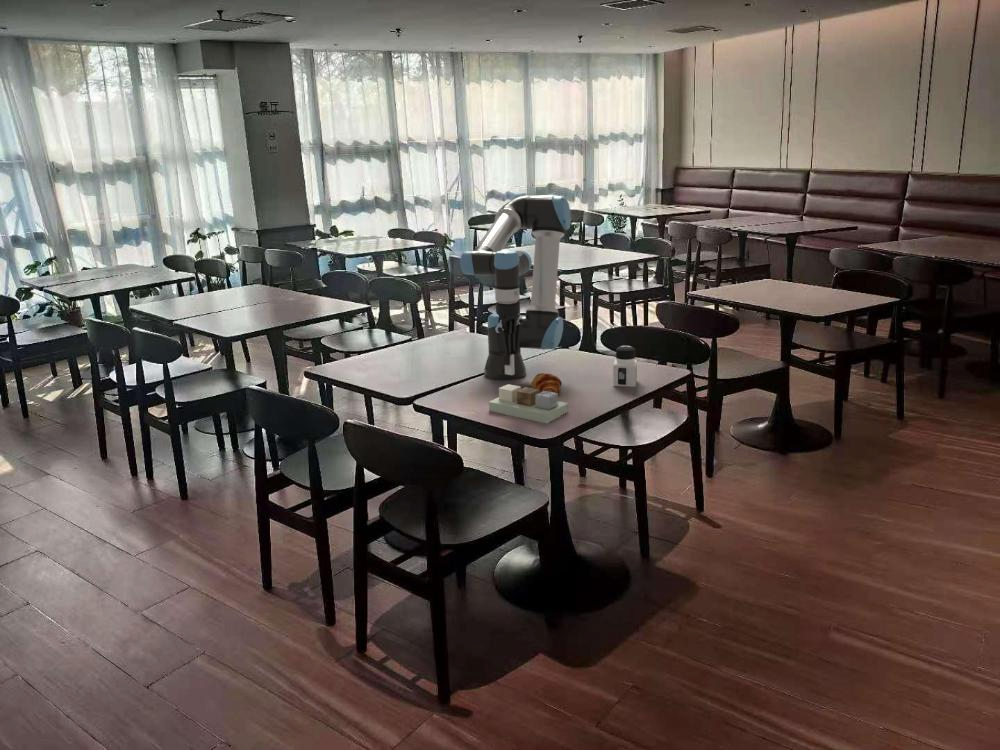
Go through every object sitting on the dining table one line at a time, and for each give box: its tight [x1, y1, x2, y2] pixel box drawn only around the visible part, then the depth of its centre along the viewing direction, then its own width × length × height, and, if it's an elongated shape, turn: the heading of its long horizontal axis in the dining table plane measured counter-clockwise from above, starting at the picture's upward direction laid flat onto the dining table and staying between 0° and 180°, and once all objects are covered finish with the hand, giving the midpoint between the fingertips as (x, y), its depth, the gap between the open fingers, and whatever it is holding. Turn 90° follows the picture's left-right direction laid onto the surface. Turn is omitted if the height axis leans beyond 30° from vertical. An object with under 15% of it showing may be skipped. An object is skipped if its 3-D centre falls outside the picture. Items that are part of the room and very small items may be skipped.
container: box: [612, 345, 638, 388], centre depth 279 cm, size 8×8×13 cm
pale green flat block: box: [488, 396, 569, 424], centre depth 255 cm, size 22×12×3 cm, turn 54°
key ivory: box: [498, 383, 522, 403], centre depth 258 cm, size 5×5×5 cm
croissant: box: [530, 372, 562, 394], centre depth 274 cm, size 21×10×8 cm, turn 5°
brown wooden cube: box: [517, 386, 539, 407], centre depth 254 cm, size 5×5×5 cm
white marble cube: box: [535, 391, 559, 411], centre depth 250 cm, size 5×5×5 cm
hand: (509, 373), depth 257 cm, fingers closed
